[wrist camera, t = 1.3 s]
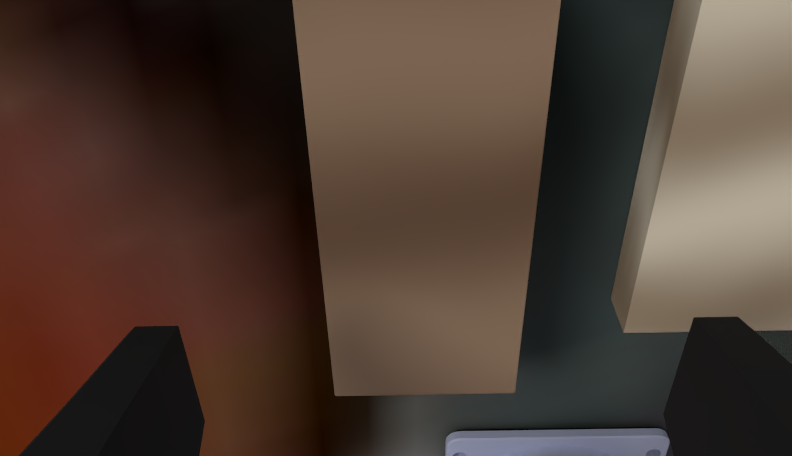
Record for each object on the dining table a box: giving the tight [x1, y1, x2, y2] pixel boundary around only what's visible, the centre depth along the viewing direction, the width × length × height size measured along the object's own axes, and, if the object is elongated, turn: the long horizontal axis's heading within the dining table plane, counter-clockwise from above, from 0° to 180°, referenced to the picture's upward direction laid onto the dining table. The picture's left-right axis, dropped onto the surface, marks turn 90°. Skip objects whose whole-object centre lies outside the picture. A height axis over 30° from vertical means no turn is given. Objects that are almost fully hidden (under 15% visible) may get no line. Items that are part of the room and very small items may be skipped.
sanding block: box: [292, 0, 561, 396], centre depth 15 cm, size 9×4×6 cm, turn 1°
